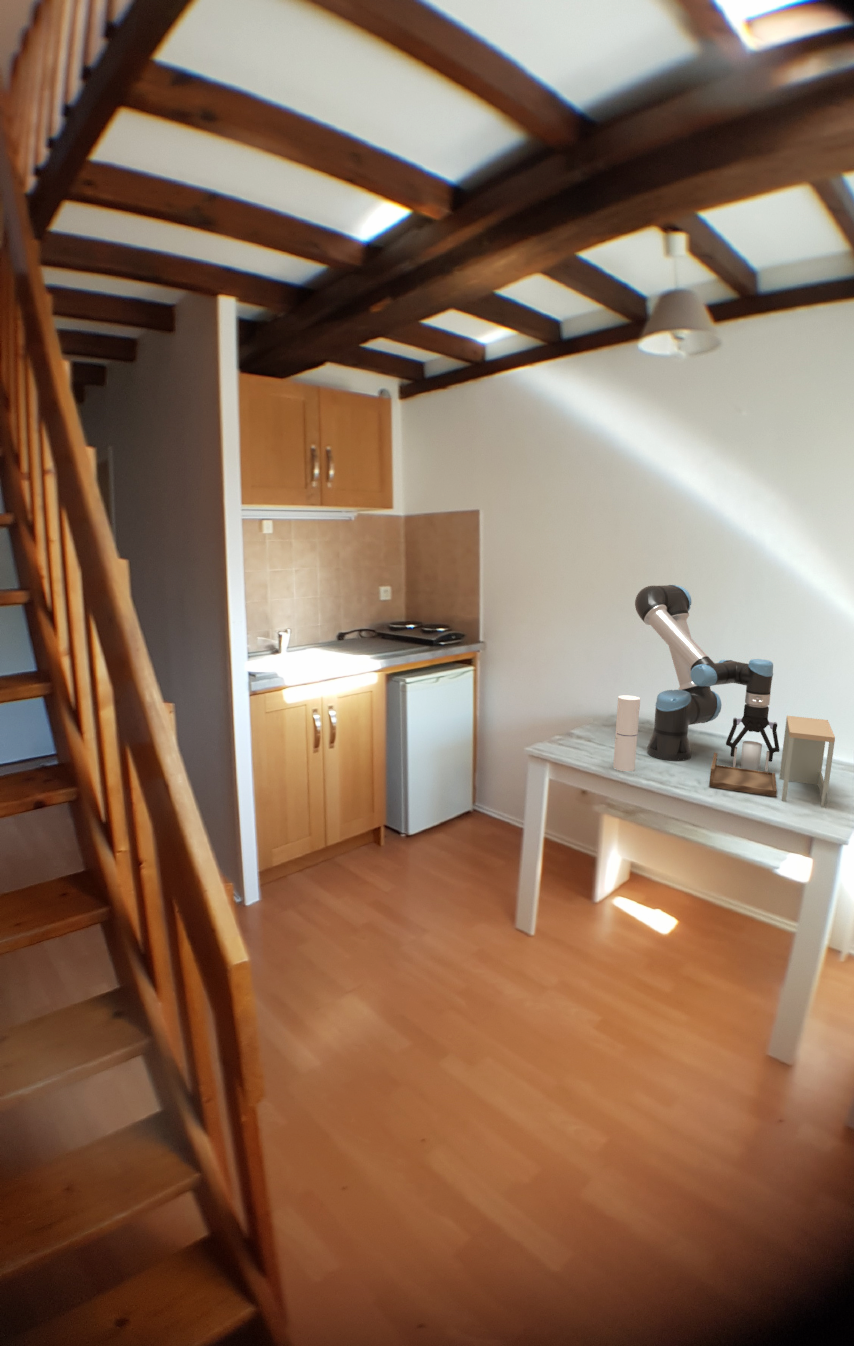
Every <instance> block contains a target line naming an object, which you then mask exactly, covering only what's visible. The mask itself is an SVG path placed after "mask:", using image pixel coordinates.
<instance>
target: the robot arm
mask: <svg viewBox="0 0 854 1346" xmlns="http://www.w3.org/2000/svg"><path fill="white" fill-rule="evenodd" d="M691 606H692V596H691V594H690V592H689V591H688V590H687V589H686V587H685V588H684V587H683V586H680V585H676V584H668V585H667V584H666V585H647V586H645V587H643V588H642V589H640V591H638V593H637V595H636V596H635V601H634V607H635V608H634V609H635V611H636V613H637V615H638V616H639V618H640V619H641V620H642V621H643V623H645V625H647V626H651V628H652V629H653V630H654V631H655V633H657V634H658V635H659V636H660V637H661V639H662V640H663V641H664V642H665V644H667V645H668V649H669V651H670V656H671V659H672V663H673V666H674V669H675V673H676V677H677V680H678V684H679V687H678V689H669V690H668V689H667V690H663V691H661V692H659V693H658V694H657V696H656V701H655V705H654V706H655V713H654V725H653V727H654V728H653V734H652V736H651V738H650V741H649V742H648V745H647V748H646V749H647V750H646V753H647V754H648V755H649V756H650V757H653V758H656V759H659V760H665V761H672V762H673V761H674V762H675V761H676V762H677V761H687V760H689V759H691V757H692V749H691V745H690V741H689V737H688V733H689V732H688V731H689V726H690V725H691V726H692V725H697V724H705V723H708V722H711V721H713V720H716V718H718V716H719V715H720V713H721V711H722V700H721V698H720V695H719V694H718V693H716V692H715V691H714V690H712V689H711V687H712V686H720V685H729V684H735V685H737V684H738V685H743V686H746V689H745V697H744V703H745V704H744V708H743V716H742V718H736V717H733V719H732V725H731V726H732V727H731V729H730V732H729V734H728V736H727V739H726V741H725V745H726V746H727V747H728V746H729V747H730V755H729V756H730V757H732V758H733V762H732V767H735V768H736V763H737V755H738V746H737V745H738V744H739V743H740V741H742V738H743V737H744V736H745V735H746V734H747V733H748V732H749V733H750V732H754V733H760V734H761V736H762V738H763V741H764V743H765V745H766V747H767V749H768V750H766V755H765V765H764V772H768V769H769V767H768V766H769V763H772V762H773V756H774V754H775V753H779V752H780V745H779V738H778V732H777V729H778V723H777V722H776V721H769V719H768V718H769V709H770V707H769V705H770V703H771V702H770V701H771V693H772V692H771V691H772V690H771V689H772V684H773V683H772V682H773V676H774V663H773V662H772V661H771V660H770V659H769V660H768V659H761V658H752V659H750V660H749V661H748V663H745V662H740V661H735V660H732V659H730V660H729V659H721V660H719V661H718V662H715V661H713V660H712V659H711V658H710V657H709V656H708V654H706V653H705V651H704V650H703V649H702V648H701V647H700V646H699V645H698V644H697V643H696V642H695V640H694V639H693V638H692V636H691V632H690V629H689V625H688V621H687V620H688V618H689V616H690V613H689V611H690V610H691ZM741 723H742V725H743V726H744V727H743V728H742V730H741V731H740V732H739V734H738V735H737V736H736V738H735V739H734V740H733V738H734V737H733V736H735V732H736V729H737V726H739V725H740V724H741ZM768 726H769V727H770V729H771V730H772V737H773V742H774V747H773V746H772V744H771V741H770V739H769V737H768V734H767V733H766V730H765V729H766V728H767V727H768ZM732 740H733V742H732Z"/></svg>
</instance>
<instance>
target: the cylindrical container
mask: <svg viewBox="0 0 854 1346" xmlns="http://www.w3.org/2000/svg"><path fill="white" fill-rule="evenodd" d="M640 707H641V698H640V696H635V695H628V694H627V695H626V694H624V695H618V697H617V710H616V721H615V722H616V725H615V735H614V736H615V738H614V752H613V762H612V763H613V766H612V767H614V768H616V769H617V770H616V771H618V770H621V771H620V772H622V771H632V772H634V771H635V770H636V759H637V746H638V745H637V743H638V730H639V721H640V720H639V718H640ZM614 768H613V769H614ZM633 770H634V771H633Z"/></svg>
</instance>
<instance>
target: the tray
mask: <svg viewBox="0 0 854 1346" xmlns="http://www.w3.org/2000/svg"><path fill="white" fill-rule="evenodd" d="M717 760H718V752H713V757H712V761H711V766H710V776H709V784H708V785H709V786H708V787H710V788H717V789H718V788H719V789H724V790H729V791H737V792H742V793H748V794H749V793H750V794H756V795H762V796H769V797H777V792H778V790H777V789H778V788H777V777H776V773H775V772H769V771H764V770H763V771H762V770H759V771H756V770H749V769H742V768H740V767H736V766H735V767H733V766H727V765H719V764H717Z"/></svg>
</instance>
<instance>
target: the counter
mask: <svg viewBox="0 0 854 1346" xmlns="http://www.w3.org/2000/svg"><path fill="white" fill-rule="evenodd" d="M826 742H827V743H828V749H827V755H826V763H825V771H824V777H823V774H822V771H823V763H824V754H825V748H826ZM835 742H836V736H835V734H834V732H833V729H832V726H831V724H830V722H829V720H828V719H822V718H821V719H820V718H812V717H804V716H803V717H802V716H793V715H786V719H785V729H784V736H783V744H782V745H783V746H782V753H781V761H780V769H779V778H778V779H779V780H781V781H783V782H782V783H783V784H782V792H781V801H782V802H786V801H787V799H788V789H789V788H788V787H789V782H793V783H794V782H796V783H804V784H808V785H809V784H810V785H815V786H818V791H819V794H820V798H821V801H820V807H821V808H825V809H826V808H827V801H828V793H829V785H830V777H831V771H832V762H833V758H834V757H833V755H834V748H835Z"/></svg>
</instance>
